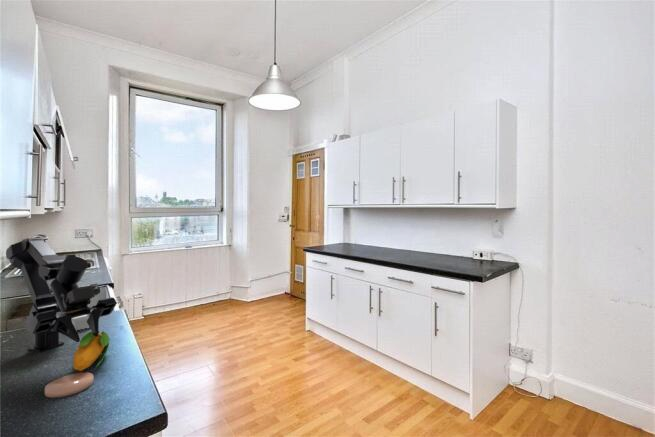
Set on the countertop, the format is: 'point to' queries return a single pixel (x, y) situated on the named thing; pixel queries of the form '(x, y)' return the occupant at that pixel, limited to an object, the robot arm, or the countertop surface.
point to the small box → (80, 322)
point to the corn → (90, 350)
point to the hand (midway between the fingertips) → (88, 338)
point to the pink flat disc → (68, 385)
